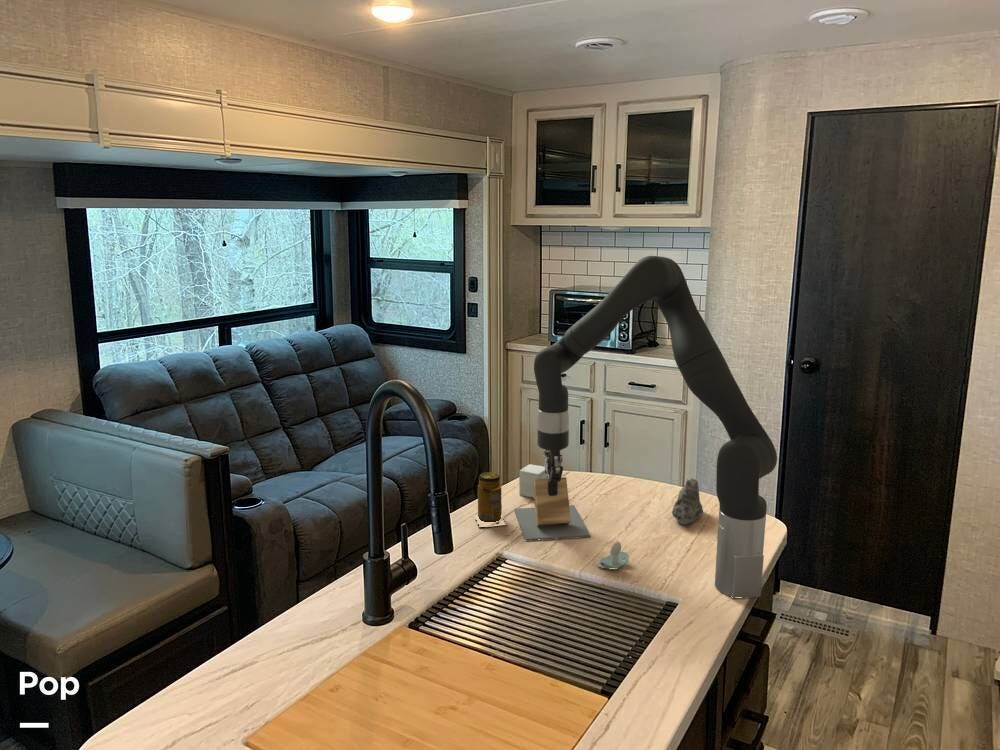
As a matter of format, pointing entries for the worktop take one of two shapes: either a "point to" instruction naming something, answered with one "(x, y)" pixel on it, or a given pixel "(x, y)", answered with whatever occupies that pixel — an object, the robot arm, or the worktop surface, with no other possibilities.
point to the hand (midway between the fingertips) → (552, 494)
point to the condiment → (489, 497)
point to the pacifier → (614, 558)
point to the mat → (550, 526)
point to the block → (551, 503)
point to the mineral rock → (688, 503)
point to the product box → (530, 479)
